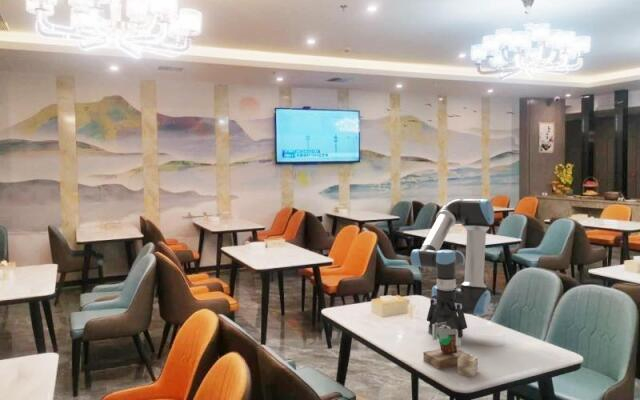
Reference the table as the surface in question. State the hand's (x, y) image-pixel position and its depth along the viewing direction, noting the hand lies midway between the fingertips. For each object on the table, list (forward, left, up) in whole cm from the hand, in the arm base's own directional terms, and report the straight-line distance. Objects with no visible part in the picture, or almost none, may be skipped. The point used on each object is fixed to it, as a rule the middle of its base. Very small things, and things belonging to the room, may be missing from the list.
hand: (446, 342), depth 214 cm
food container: (0, 0, -4) cm, 4 cm away
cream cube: (+12, -4, -8) cm, 15 cm away
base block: (0, 0, -9) cm, 9 cm away
